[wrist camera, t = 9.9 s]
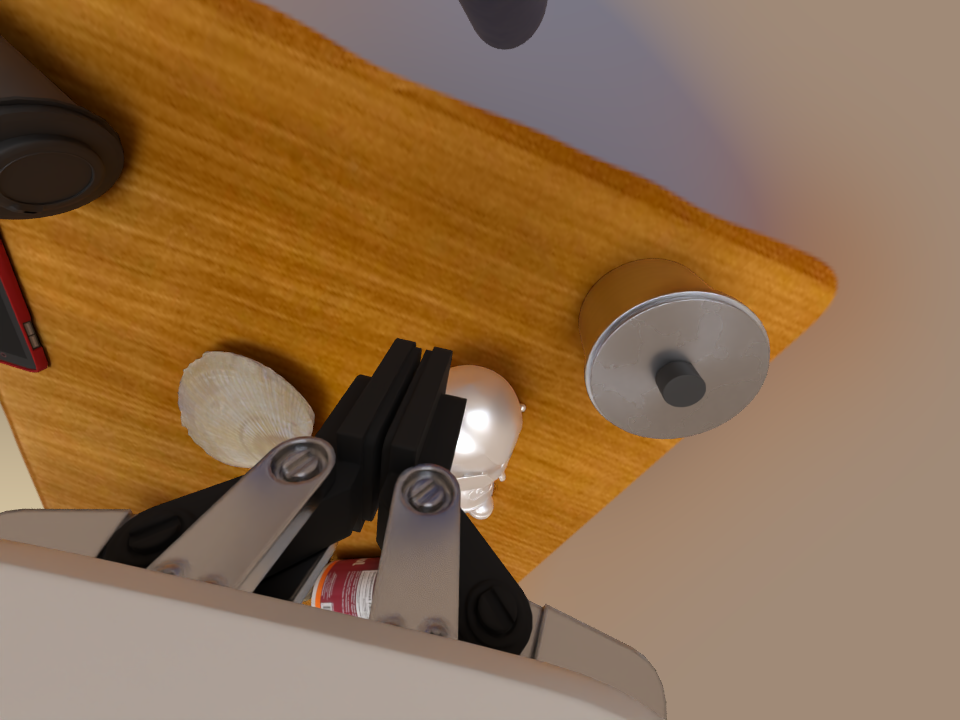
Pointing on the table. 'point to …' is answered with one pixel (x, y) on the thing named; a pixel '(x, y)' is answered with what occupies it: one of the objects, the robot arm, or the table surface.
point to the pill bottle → (347, 586)
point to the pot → (669, 350)
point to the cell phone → (16, 324)
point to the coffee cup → (49, 145)
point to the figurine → (483, 434)
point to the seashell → (240, 408)
